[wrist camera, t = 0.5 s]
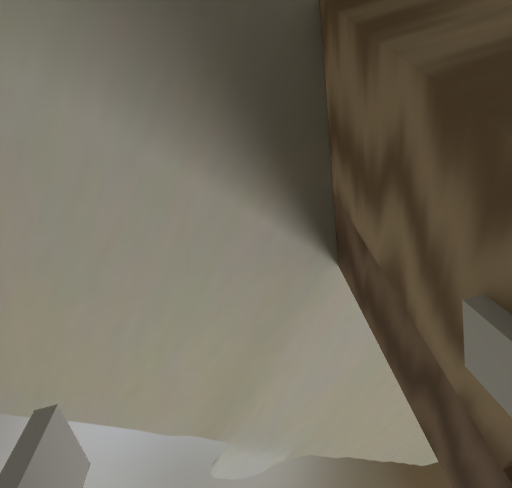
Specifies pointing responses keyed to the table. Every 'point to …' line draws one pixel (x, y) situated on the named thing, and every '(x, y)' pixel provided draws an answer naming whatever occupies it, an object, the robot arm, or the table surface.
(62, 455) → the robot arm
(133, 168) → the table surface
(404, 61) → the walnut step stand
